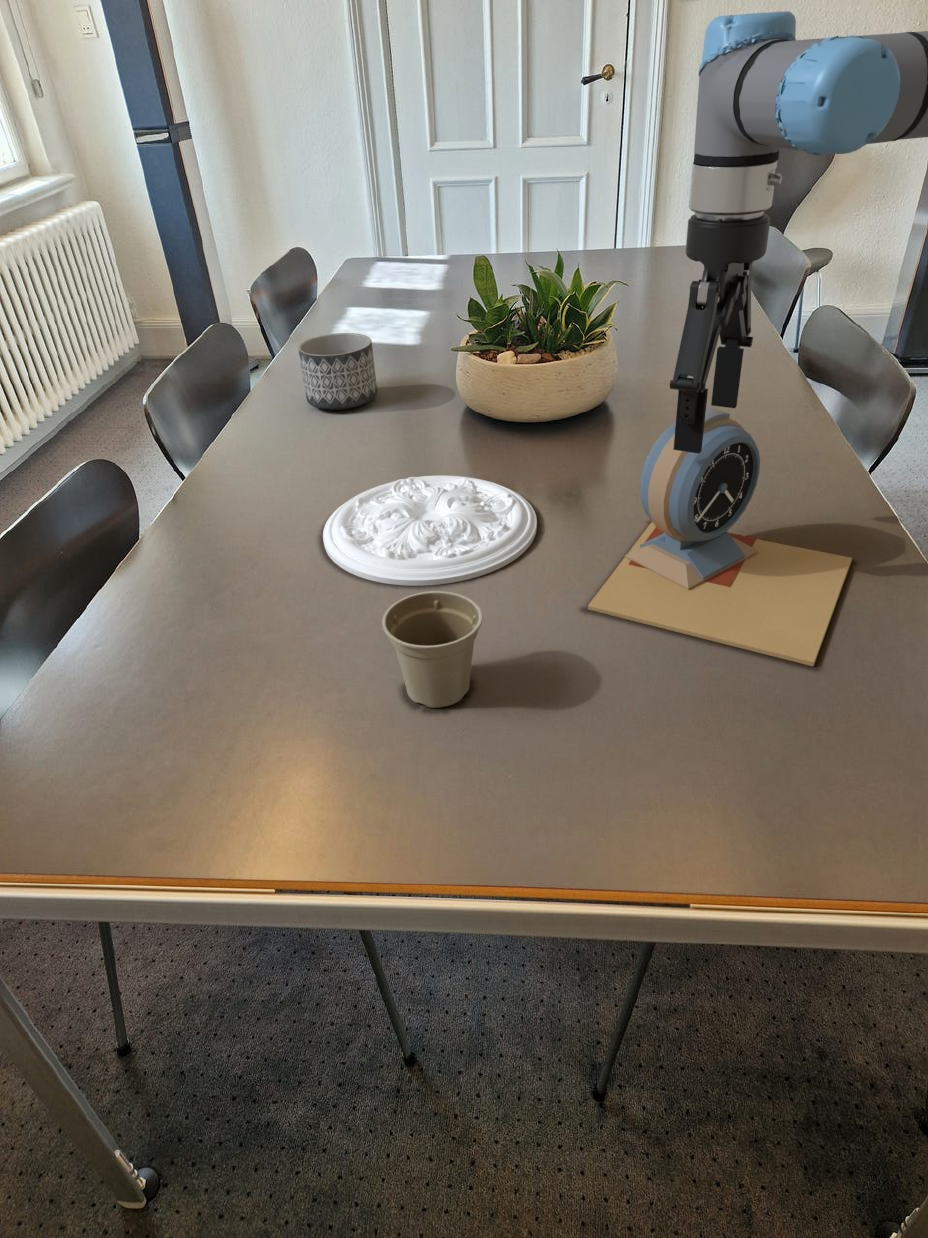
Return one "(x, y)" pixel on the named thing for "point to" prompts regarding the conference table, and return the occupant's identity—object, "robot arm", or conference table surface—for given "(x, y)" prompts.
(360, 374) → the planter
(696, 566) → the alarm clock
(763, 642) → the mat
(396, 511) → the ceiling medallion
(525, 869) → the conference table surface
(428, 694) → the flower pot
